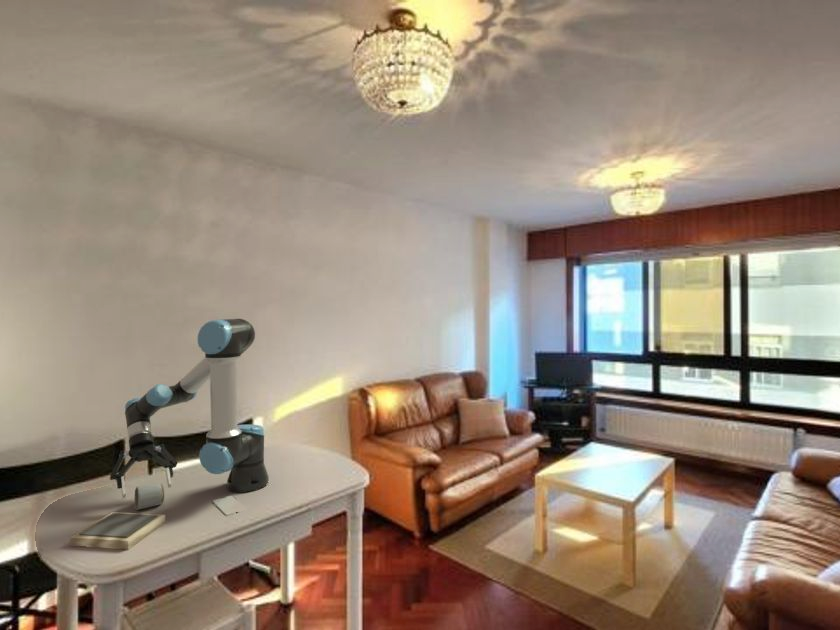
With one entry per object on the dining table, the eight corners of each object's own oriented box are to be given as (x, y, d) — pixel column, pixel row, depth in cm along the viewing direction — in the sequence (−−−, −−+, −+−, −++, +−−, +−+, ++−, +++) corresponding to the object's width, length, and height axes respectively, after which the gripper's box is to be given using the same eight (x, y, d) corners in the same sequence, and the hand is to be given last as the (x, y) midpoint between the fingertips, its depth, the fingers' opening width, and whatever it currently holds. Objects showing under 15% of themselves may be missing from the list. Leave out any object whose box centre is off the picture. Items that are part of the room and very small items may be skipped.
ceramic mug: (165, 506, 155) (165, 484, 155) (137, 513, 150) (137, 490, 150) (158, 497, 163) (158, 476, 163) (132, 503, 158) (132, 481, 158)
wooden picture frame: (165, 522, 144) (165, 513, 144) (128, 549, 128) (128, 539, 128) (112, 519, 146) (112, 510, 146) (70, 545, 130) (69, 535, 130)
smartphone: (225, 515, 149) (211, 500, 160) (225, 517, 149) (211, 502, 160) (248, 509, 154) (232, 494, 165) (248, 511, 154) (232, 496, 165)
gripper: (176, 436, 176) (185, 486, 165) (98, 449, 160) (102, 505, 149) (179, 426, 172) (189, 477, 160) (99, 437, 156) (104, 495, 144)
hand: (147, 491), depth 154 cm, fingers open, 13 cm apart
